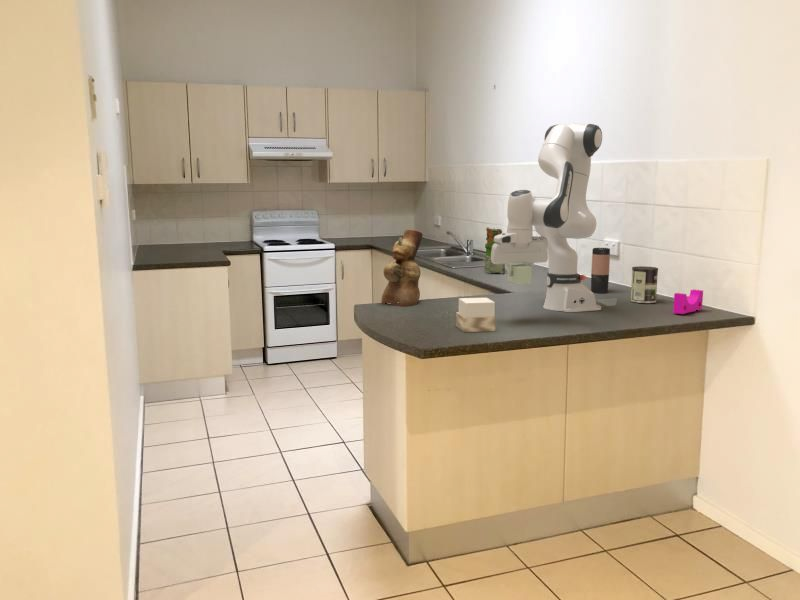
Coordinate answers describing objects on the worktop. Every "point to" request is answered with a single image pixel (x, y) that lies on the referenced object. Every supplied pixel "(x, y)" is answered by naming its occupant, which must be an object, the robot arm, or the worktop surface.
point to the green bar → (520, 273)
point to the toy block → (688, 302)
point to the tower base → (475, 323)
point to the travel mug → (600, 270)
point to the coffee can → (644, 284)
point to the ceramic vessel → (403, 272)
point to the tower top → (476, 307)
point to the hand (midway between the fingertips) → (519, 275)
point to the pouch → (488, 264)
